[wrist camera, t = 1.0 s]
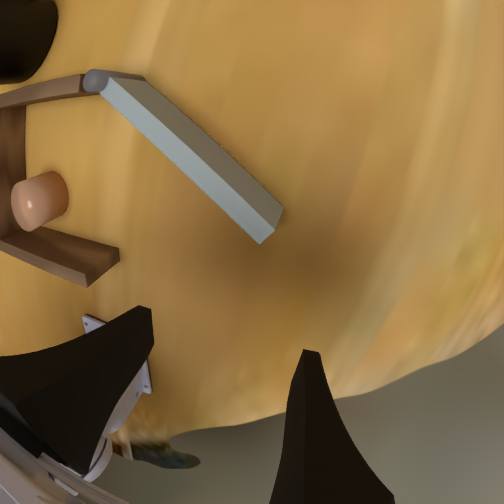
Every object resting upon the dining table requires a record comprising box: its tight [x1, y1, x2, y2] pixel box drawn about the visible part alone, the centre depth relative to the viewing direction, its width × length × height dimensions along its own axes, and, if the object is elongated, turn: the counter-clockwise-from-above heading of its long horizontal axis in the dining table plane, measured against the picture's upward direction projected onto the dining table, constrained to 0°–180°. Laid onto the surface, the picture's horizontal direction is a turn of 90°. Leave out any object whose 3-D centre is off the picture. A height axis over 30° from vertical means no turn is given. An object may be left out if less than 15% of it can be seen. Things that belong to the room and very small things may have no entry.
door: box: [83, 69, 284, 244], centre depth 16 cm, size 14×1×5 cm, turn 47°
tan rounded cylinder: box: [11, 171, 69, 231], centre depth 21 cm, size 4×4×4 cm
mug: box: [0, 0, 57, 85], centre depth 11 cm, size 9×12×9 cm
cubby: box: [0, 74, 119, 287], centre depth 19 cm, size 15×14×5 cm
